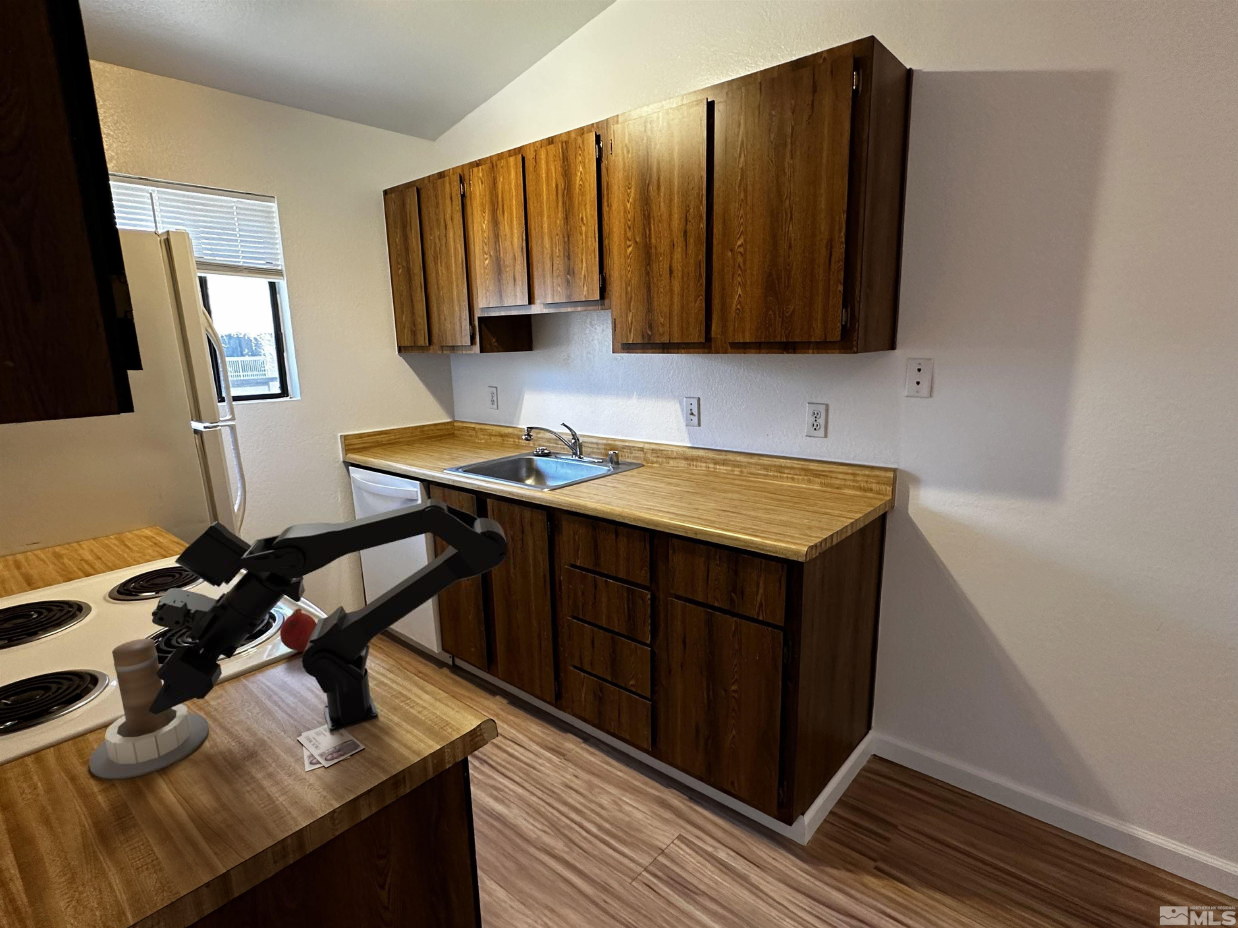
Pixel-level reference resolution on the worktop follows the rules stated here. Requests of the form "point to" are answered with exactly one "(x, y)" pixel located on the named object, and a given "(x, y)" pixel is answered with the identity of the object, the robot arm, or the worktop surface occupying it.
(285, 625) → the onion
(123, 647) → the pepper mill
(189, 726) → the holder cup
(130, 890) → the worktop surface
